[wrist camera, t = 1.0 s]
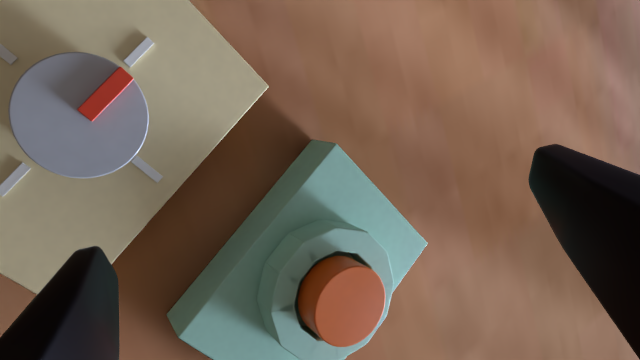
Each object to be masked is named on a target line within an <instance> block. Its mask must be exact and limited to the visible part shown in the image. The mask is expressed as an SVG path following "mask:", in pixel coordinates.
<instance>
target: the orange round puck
mask: <svg viewBox="0 0 640 360" xmlns="http://www.w3.org/2000/svg"><path fill="white" fill-rule="evenodd" d="M385 299H386V297H385V288H384V285H383V282H382V280H381V278H380V277H379V275H378V274H377V273H376V272H375V271H373V270H372V269H370V268H368V267H367V266H365V265H363V264H361V263H359V262H357V261H355V260H354V259H352V258H349V257H346V256H333V257H329V258H326V259H324V260H322V261H320V262H319V263H318V264H316V265H315V266H314V267H313V268H312V269H311V270H310V271H309V272H308V274H307V275H306V277H305V278H304V280H303V282H302V284H301V287H300V290H299V295H298V309H299V313H300V316H301V318H302V320H303V321H304V323H305V324H306V325H307V326H308V327H309V328H310V329H311V330H312V331H314V332H315V333H316V334H317V335H318V336H319V337H320V338H321V339H322V340H324V341H325V342H326V343H328V344H330V345H332V346H336V347H348V346H352V345H355V344H357V343H359V342H361V341H362V340H364V339H365V338H366V337H367V336H369V334H370V333H371V332H372V331H373V330H374V329H375V327H376V326H377V324H378V323H379V321H380V319H381V317H382V314H383V311H384V307H385Z"/></svg>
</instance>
